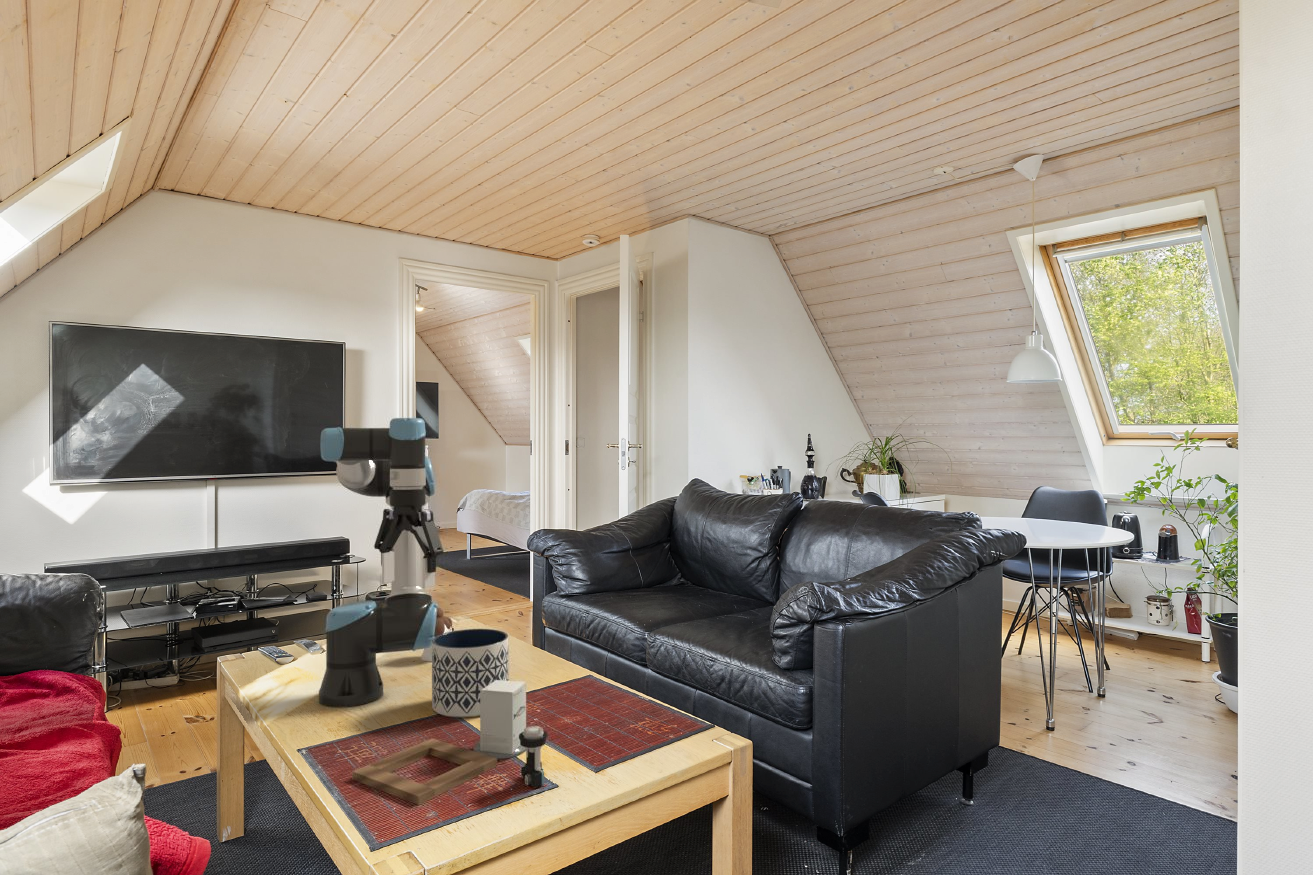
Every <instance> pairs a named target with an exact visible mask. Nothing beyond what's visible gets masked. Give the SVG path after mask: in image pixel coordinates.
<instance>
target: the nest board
mask: <svg viewBox="0 0 1313 875" xmlns="http://www.w3.org/2000/svg"><path fill="white" fill-rule="evenodd" d="M428 756H433V757H436V758H439V759H441V760H445V761H447V762H450V763H454V764H457V765H460V766H457V767H455V768H453V769H451V770H449V771H446V772H445V773H442V774H440V775H439V776H436V777H433V778H431V779H430V780H427V781H425V782H423V783H421V782H418V781H417V782H416V781H414V780H411V779H408V778H405V777H404V776H401V775H397V774H396V773H395V774H394V773H392V772H394V771H396V770H399V769H401V768H403V767H406V766H407V765H410V764H412V763H415V762H417V761H419V760H422V759H424V758H426V757H428ZM497 766H498V760H497V758H494V757H491V756H488V755H484V754H481V753H478V752H475V751H474V750H471V749H469V748H465V747H462V746H459V745H455V744H453V743H452V744H451V743H449V742H445V741H442V740H439V739H436V738H430V739H427V740H425V741H422V742H420V743H417V744H415V745H413V746H412V745H411V746H410V747H408V748H405V749H403V750H401V751H398V752H396V753H393V754H391V755H389V756H386V757H383V758H381V759H380V760H376V761H374V762H371V763H369V764H367V765H365V766H362V767H360V768H357V769H354V770H352V780H354V781H356V782H359V783H361V784H364V785H366V786H369V787H371V788H374V789H377V790H380V791H382V792H385V793H387V794H389V795H391V796H394V797H397V798H398V799H399V798H400V799H402V800H405V801H408V802H410V803H412V804H415V805H418V806H420V805H421V804H424V803H427V802H428V801H430V800H432V799H434V798H436V797H438V796H440V795H442V794H444V793H446V792H448V791H450V790H452V789H454V788H456V787H459V786H460V785H463V784H464V783H466V782H468V781H470V780H472V779H474V778H476V777H478V776H480V775H482V774H485V773H486V772H488V771H490V770H491V769H495V767H497Z"/></svg>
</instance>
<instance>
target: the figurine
mask: <svg viewBox="0 0 1313 875" xmlns="http://www.w3.org/2000/svg"><path fill="white" fill-rule="evenodd" d="M452 631H453V620H452V619H451V618H450V617H449V616H445V615H444V611H443V609H442V608H440V607H437V615H436V624H435V632H434V638H435V637H437V636H438V635H441V634H444V633H448V632H452ZM420 658H421V661H423V662H426V663H428V662H429V663H432V645H431V646H430V647H429V648H426V649H423V651H422V653H421V657H420Z"/></svg>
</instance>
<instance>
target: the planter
mask: <svg viewBox="0 0 1313 875" xmlns="http://www.w3.org/2000/svg"><path fill="white" fill-rule="evenodd" d="M509 646H510V644H509V635H508V633H507V632H505V631H502V630H498V629H490V628H470V629H469V628H467V629H459V630H458V629H457V630H452V632H448V633H444V634H441V635H438V636H437V637H435V638H434V639H433V640H432V662H431V706H432V710H433V711H435V712H436V713H437V714H438V715H441V716H445V717H449V718H464V719H466V718H476V717H480V691H481V690H482V689H484V688H485V687H487V686H488V685H489V684H491V683H492V682H494V681H495V680H502V681H510V665H509V664H510V663H509V662H510V658H509V657H510V656H509V653H510V651H509V648H510V647H509Z"/></svg>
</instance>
